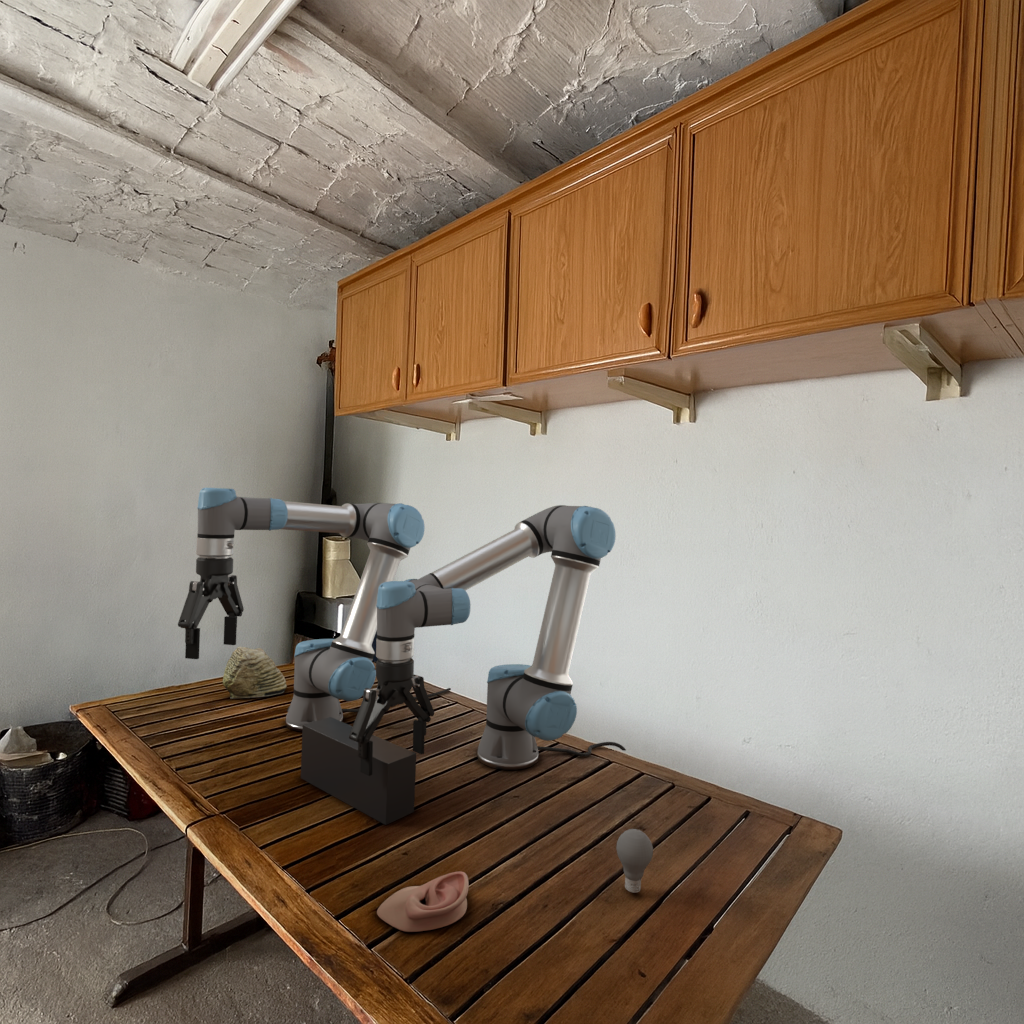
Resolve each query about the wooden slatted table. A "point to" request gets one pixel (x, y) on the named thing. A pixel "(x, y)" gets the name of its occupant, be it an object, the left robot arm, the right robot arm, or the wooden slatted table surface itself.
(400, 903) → the anatomical model
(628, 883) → the light bulb
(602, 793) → the wooden slatted table surface
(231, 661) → the fossil
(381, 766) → the box
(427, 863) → the wooden slatted table surface
